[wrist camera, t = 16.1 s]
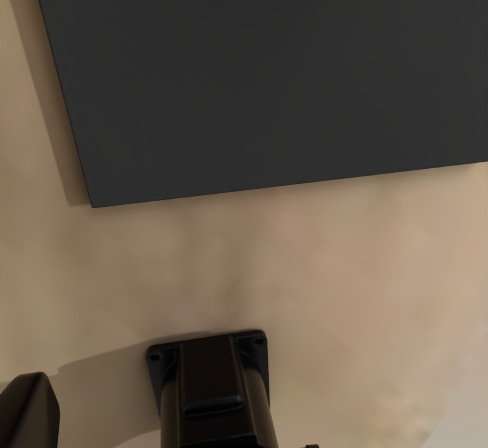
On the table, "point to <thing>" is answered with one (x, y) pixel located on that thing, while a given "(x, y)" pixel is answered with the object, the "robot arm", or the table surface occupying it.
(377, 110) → the rubber mat
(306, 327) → the table surface
